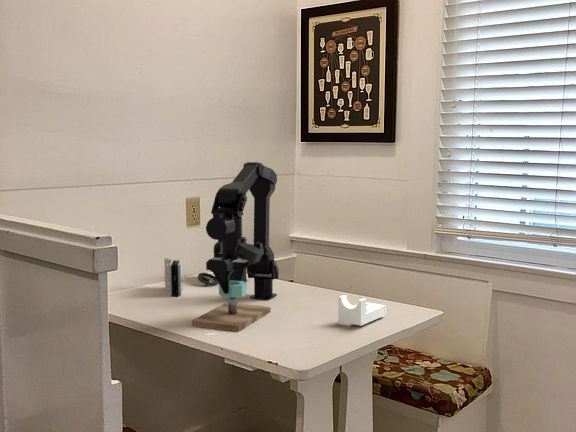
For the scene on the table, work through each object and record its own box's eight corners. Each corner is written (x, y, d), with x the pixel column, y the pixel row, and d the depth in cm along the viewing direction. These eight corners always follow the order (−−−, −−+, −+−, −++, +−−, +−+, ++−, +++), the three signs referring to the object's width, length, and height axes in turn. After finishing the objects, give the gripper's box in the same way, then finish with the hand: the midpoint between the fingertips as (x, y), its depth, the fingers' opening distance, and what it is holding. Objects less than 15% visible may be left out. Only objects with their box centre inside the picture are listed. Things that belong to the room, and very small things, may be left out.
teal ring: (227, 290, 183) (227, 279, 182) (249, 292, 180) (249, 281, 180) (215, 295, 176) (215, 285, 176) (238, 298, 173) (238, 287, 173)
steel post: (230, 313, 180) (230, 290, 179) (238, 314, 179) (238, 291, 179) (226, 315, 178) (226, 292, 177) (234, 316, 177) (234, 293, 176)
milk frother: (252, 280, 227) (251, 238, 225) (229, 289, 212) (228, 245, 211) (217, 276, 233) (216, 235, 231) (192, 285, 218) (191, 242, 217)
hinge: (164, 287, 216) (164, 257, 215) (181, 286, 218) (180, 257, 216) (170, 297, 203) (169, 265, 202) (187, 296, 204) (187, 264, 203)
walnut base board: (226, 307, 191) (226, 302, 190) (270, 311, 185) (270, 306, 185) (191, 325, 172) (191, 320, 172) (239, 331, 167) (239, 325, 167)
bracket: (361, 329, 170) (361, 300, 169) (338, 324, 174) (338, 296, 173) (385, 318, 180) (385, 291, 179) (363, 314, 184) (363, 287, 183)
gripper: (243, 241, 164) (244, 301, 166) (272, 230, 182) (273, 285, 183) (204, 238, 169) (205, 297, 170) (236, 228, 186) (237, 282, 188)
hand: (232, 290), depth 178 cm, fingers closed on teal ring, 7 cm apart
